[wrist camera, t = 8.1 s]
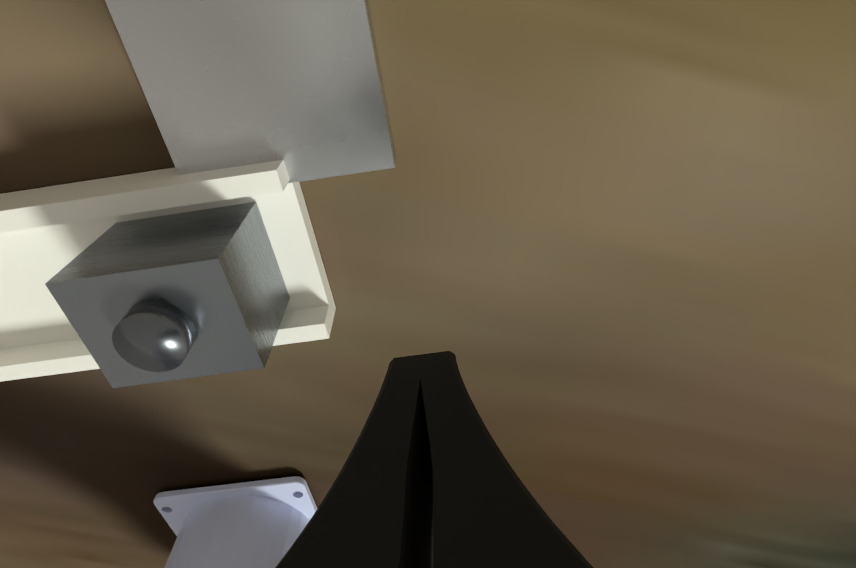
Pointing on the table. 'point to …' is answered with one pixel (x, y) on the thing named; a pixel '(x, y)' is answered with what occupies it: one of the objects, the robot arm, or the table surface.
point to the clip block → (176, 296)
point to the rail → (130, 200)
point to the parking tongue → (261, 83)
